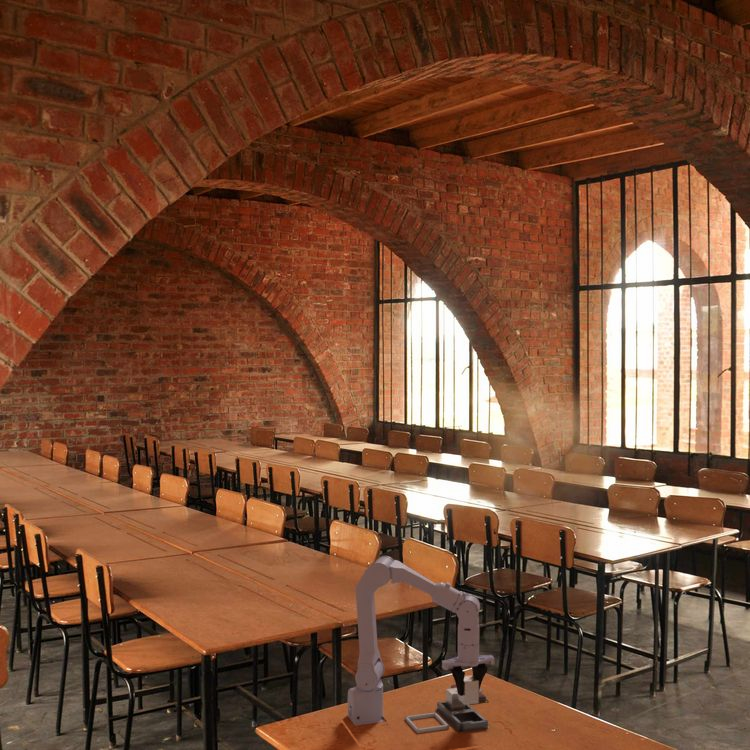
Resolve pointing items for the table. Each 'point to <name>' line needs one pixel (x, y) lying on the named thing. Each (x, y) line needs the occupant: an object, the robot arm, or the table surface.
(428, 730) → the grey square tray
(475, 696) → the loose billet
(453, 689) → the seated billet
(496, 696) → the table surface
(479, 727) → the metal divided rack
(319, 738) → the table surface
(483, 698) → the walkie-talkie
